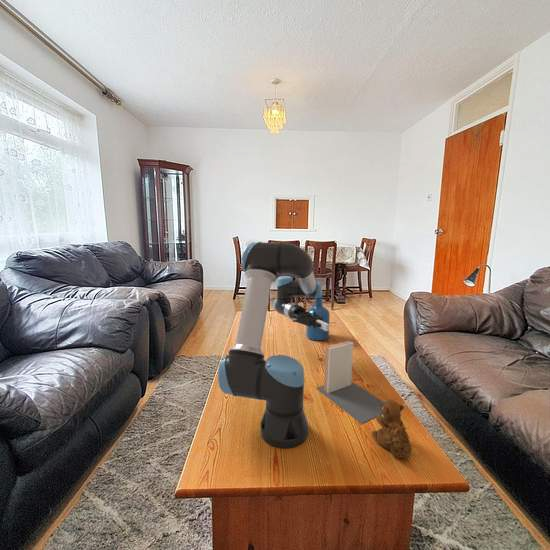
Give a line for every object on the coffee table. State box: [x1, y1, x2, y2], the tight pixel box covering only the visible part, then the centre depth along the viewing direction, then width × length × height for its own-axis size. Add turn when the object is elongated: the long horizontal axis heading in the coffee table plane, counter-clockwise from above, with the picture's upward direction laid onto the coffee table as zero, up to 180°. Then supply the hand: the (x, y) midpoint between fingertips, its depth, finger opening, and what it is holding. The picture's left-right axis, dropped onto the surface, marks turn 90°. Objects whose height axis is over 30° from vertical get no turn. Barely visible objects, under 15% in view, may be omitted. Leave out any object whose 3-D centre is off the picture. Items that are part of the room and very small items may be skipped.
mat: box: [315, 380, 384, 425], centre depth 109 cm, size 24×16×1 cm, turn 30°
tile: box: [323, 340, 354, 393], centre depth 114 cm, size 2×12×18 cm, turn 120°
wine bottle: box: [305, 291, 331, 342], centre depth 166 cm, size 14×13×30 cm
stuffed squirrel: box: [371, 399, 413, 459], centre depth 84 cm, size 10×14×13 cm
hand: (327, 327), depth 118 cm, fingers closed
